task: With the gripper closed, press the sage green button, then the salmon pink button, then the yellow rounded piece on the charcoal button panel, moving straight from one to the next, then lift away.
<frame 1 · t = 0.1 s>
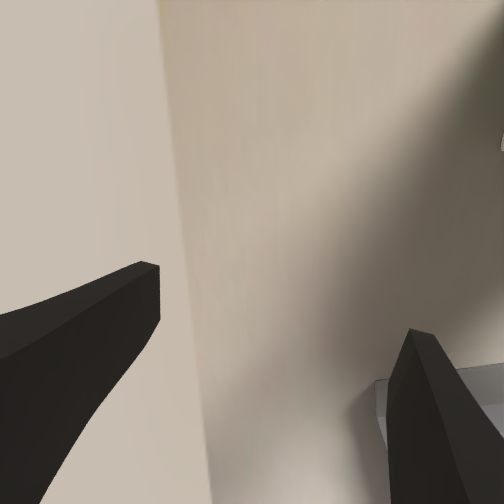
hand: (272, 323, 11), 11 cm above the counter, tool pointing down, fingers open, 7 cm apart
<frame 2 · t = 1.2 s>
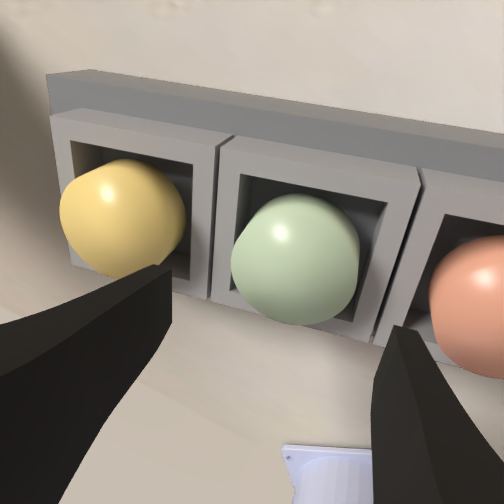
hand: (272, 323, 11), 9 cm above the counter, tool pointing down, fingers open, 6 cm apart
sage button: (296, 259, 15), point 6 cm above the counter, slide at 0.0 cm
salmon pink button: (502, 307, 13), point 6 cm above the counter, slide at 0.0 cm
yellow rounded piece: (124, 219, 16), point 6 cm above the counter, slide at 0.0 cm
button panel: (317, 204, 19), on the counter
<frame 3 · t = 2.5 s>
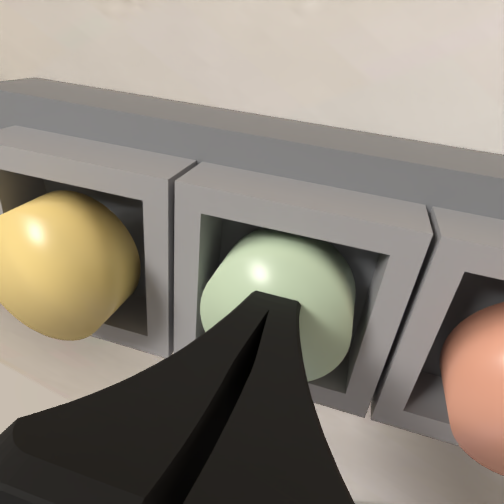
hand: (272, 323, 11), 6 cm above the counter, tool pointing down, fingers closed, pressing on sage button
sage button: (279, 305, 12), point 5 cm above the counter, slide at 0.8 cm, touching gripper
yellow rounded piece: (62, 265, 13), point 6 cm above the counter, slide at 0.0 cm
button panel: (304, 238, 16), on the counter
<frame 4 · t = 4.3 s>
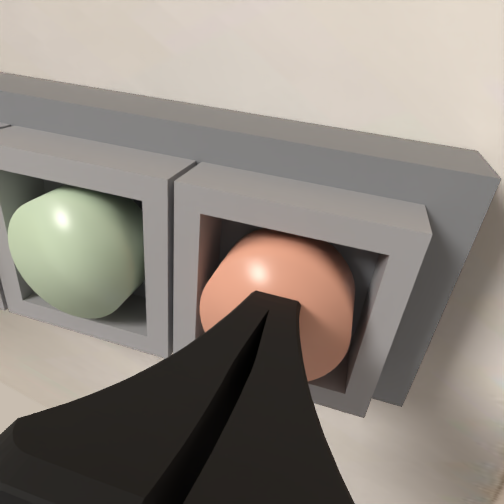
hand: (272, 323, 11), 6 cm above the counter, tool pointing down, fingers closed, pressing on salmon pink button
sage button: (85, 249, 14), point 4 cm above the counter, slide at 1.2 cm
salmon pink button: (279, 305, 12), point 5 cm above the counter, slide at 0.8 cm, touching gripper
button panel: (148, 204, 18), on the counter
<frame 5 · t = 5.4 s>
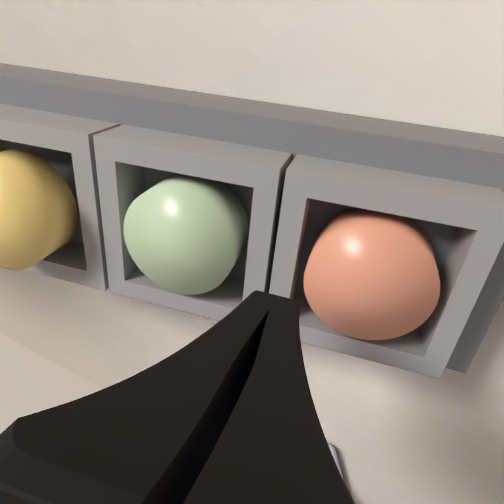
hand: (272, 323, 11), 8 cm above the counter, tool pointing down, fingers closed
sage button: (187, 233, 16), point 4 cm above the counter, slide at 1.2 cm
salmon pink button: (369, 273, 14), point 4 cm above the counter, slide at 1.2 cm
yellow rounded piece: (13, 209, 16), point 6 cm above the counter, slide at 0.0 cm
button panel: (225, 195, 19), on the counter
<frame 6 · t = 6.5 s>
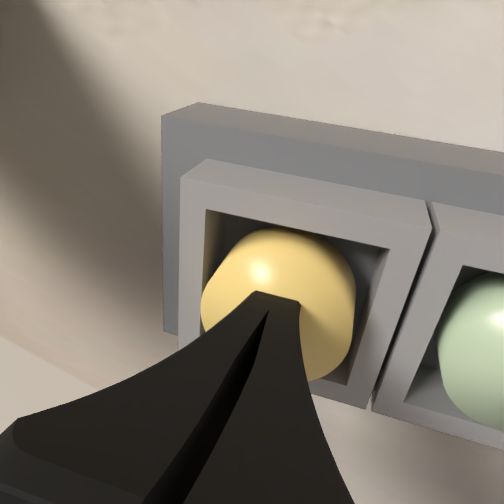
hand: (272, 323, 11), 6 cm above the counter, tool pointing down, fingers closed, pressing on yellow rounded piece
yellow rounded piece: (280, 305, 12), point 5 cm above the counter, slide at 0.5 cm, touching gripper
button panel: (487, 274, 15), on the counter
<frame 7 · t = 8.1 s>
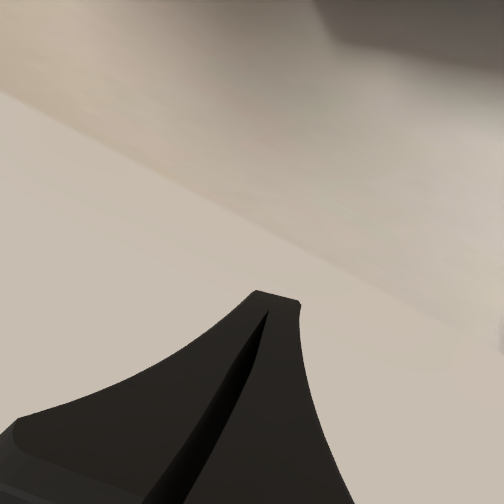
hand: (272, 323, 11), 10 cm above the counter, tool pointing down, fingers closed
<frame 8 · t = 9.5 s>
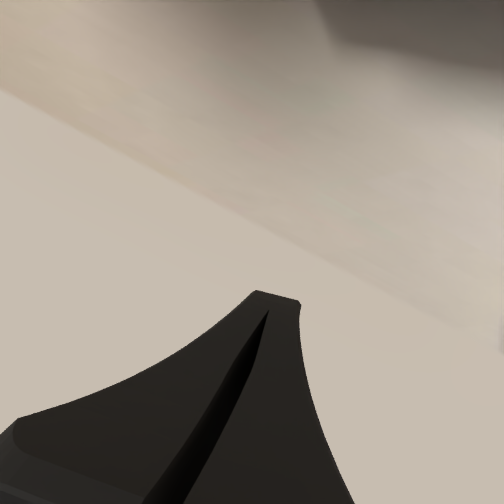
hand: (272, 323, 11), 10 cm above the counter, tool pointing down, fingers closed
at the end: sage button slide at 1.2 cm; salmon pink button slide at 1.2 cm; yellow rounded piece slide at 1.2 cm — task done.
